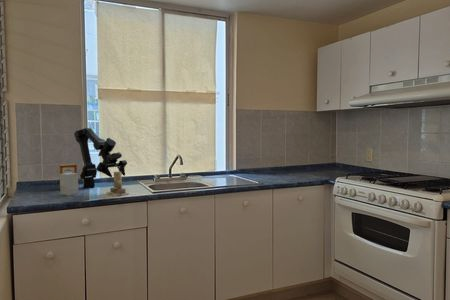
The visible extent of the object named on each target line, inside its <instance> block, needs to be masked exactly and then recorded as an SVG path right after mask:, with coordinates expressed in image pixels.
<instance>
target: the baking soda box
mask: <svg viewBox="0 0 450 300" xmlns="http://www.w3.org/2000/svg"><path fill="white" fill-rule="evenodd" d="M58 165H59V175H60V174H63V173H78V172H77V170H78V168H77V164H76V163H67V164H58ZM59 189H60V190H61V188H60V187H59Z"/></svg>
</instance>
